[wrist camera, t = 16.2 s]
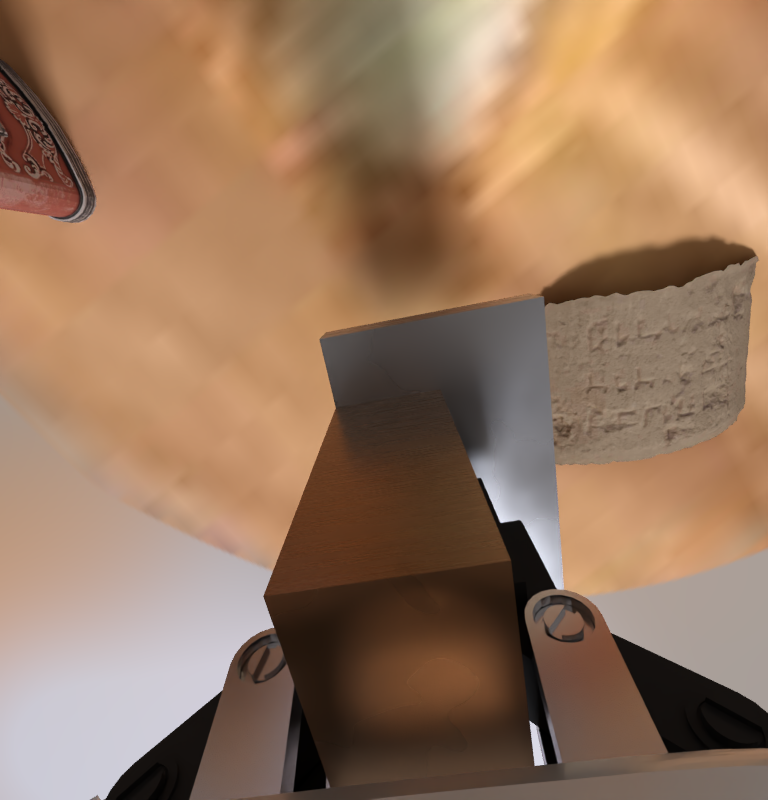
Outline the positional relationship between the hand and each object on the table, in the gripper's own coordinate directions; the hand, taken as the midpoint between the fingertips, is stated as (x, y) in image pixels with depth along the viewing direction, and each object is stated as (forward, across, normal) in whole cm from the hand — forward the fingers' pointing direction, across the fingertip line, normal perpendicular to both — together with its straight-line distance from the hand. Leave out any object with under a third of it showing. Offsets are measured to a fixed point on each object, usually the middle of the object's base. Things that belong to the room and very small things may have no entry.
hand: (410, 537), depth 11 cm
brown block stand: (+3, -2, 0) cm, 3 cm away
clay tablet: (+15, -14, +1) cm, 21 cm away
